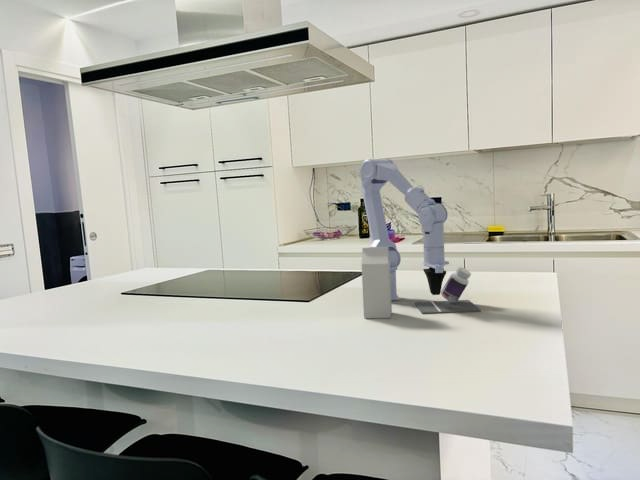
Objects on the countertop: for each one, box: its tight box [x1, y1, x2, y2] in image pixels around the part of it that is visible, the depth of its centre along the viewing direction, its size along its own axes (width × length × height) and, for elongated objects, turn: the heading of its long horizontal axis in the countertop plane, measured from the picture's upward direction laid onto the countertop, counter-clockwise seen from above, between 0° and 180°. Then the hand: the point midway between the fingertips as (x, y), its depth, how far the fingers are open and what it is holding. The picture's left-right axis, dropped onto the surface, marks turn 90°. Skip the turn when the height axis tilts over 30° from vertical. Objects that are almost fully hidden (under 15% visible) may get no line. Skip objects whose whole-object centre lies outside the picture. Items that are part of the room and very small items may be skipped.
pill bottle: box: [440, 266, 472, 302], centre depth 145 cm, size 5×5×10 cm
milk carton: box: [361, 247, 393, 319], centre depth 136 cm, size 7×7×19 cm
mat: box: [414, 299, 482, 315], centre depth 142 cm, size 16×13×1 cm
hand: (435, 293), depth 142 cm, fingers closed
